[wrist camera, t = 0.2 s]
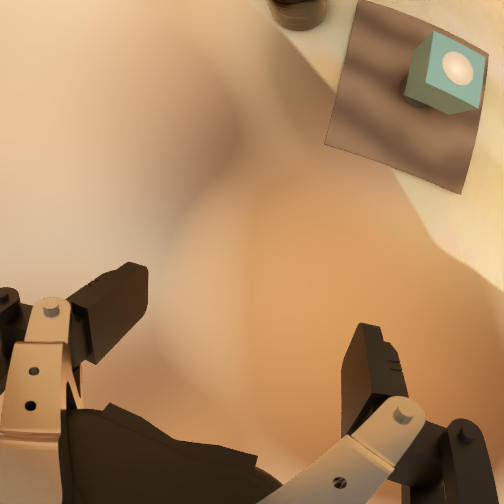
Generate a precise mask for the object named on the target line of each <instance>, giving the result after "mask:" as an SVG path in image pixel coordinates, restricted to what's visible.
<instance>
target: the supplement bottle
mask: <svg viewBox="0 0 504 504" xmlns="http://www.w3.org/2000/svg"><path fill="white" fill-rule="evenodd" d="M266 1H267V3H268V5H269V8H270V10H271V12H272V15H273V17H274V18H275V20H276V21H277V22H278V23H279V24H281V25H282V26H284V27H286V28H289V29H293V30H307V29H310V28H313V27H315V26H317V25H318V24H319V23H320V22H321V21H322V20H323V18H324V16H325V13H326V0H266Z"/></svg>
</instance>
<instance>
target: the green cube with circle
mask: <svg viewBox="0 0 504 504" xmlns="http://www.w3.org/2000/svg"><path fill="white" fill-rule="evenodd" d="M484 67H485V57H484V56H482V55H480V54H479V53H477V52H475V51H473V50H472V49H470V48H468V47H466V46H464V45H462V44H460V43H458V42H456V41H454V40H452V39H450V38H448V37H446V36H444V35H442V34H440V33H438V32H435V31H433V32H432V33H431V34H430V35H429V36H428V37H427V38H426V39H425V40H424V41H423V42H422V43H421V44H420V45H419V46H418V47H417V48H416V49H415V50H414V51H413V53H412V58H411V64H410V69H409V74H408V79H407V84H406V89H405V93H404V95H405V96H407V97H410V98H412V99H415V100H417V101H420V102H422V103H424V104H427V105H429V106H431V107H433V108H436V109H438V110H440V111H442V112H444V113H446V114H449V115H450V114H455V113H459V112H464V111H469V110H474V109H479V103H480V97H481V90H482V83H483V76H484Z"/></svg>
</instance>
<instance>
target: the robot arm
mask: <svg viewBox="0 0 504 504" xmlns="http://www.w3.org/2000/svg"><path fill="white" fill-rule="evenodd" d="M147 304H148V269H147V267H146V266H142V265H139V264H136V263H132V262H127V263H125V264H124V265H123V266H121V267H120V268H118V269H117V270H113V271H110V272H106V273H103V274H102V275H100V276H99V277H97V278H96V279H95V280H94V281H91V282H90V283H88V285H85V286H84V287H83V288H81V289H80V290H78V291H77V292H75V293H74V294H72V295H71V296H70V297H68V298H67V299H62V298H59V297H49V298H44V299H42V300H40V301H38V302H37V303H36V304H35V305H34V306H31V305H27V304H22V303H20V298H19V293H18V291H16V290H15V289H13V288H8V287H3V288H0V395H1V394H2V393H3V392H4V391H5V393H4V400H3V407H2V414H1V423H0V504H365V503H366V502H367V501H368V500H369V499H370V498H371V497H372V496H373V494H374V493H375V492H376V491H377V490H378V489H379V487H380V486H381V485H382V484H383V483H384V482H385V480H386V479H388V480H391V481H394V482H397V483H400V484H401V485H402V504H499V502H498V496H497V491H496V486H495V481H494V476H493V472H492V467H491V464H490V459H489V455H488V451H487V448H486V444H485V440H484V437H483V434H482V432H481V430H480V429H479V427H478V426H477V425H475V424H474V423H473V422H471V421H469V420H467V419H455V420H454V421H452V422H451V423H450V424H449V426H448V427H447V428H445V427H442V426H439V425H436V424H433V423H430V422H428V421H426V420H425V414H424V411H423V410H422V408H421V407H420V406H419V405H418V404H417V403H416V402H415V401H413V400H411V399H409V396H408V392H407V388H406V384H405V380H404V376H403V372H402V368H401V364H400V361H399V357H398V353H397V351H396V350H395V349H394V348H393V346H392V345H391V344H390V343H389V342H384V341H383V336H382V333H381V329H380V327H379V326H374V325H369V324H365V323H359V324H358V326H357V328H356V331H355V333H354V336H353V338H352V340H351V343H350V345H349V347H348V350H347V352H346V354H345V357H344V360H343V364H342V369H341V395H342V419H341V425H342V426H341V440H340V441H338V442H337V443H336V444H335V445H334V446H333V447H332V448H330V449H329V450H328V451H327V452H326V453H325V454H323V455H322V456H321V457H320V458H318V459H317V460H316V461H315V462H313V463H312V464H311V465H310V466H308V467H307V468H306V469H304V470H303V471H302V472H301V473H299V474H298V475H297V476H295V477H294V478H292V479H291V480H290V481H289V482H287V483H286V484H284V485H282V484H281V483H280V482H279V481H278V480H277V479H276V478H274V477H273V476H272V475H270V474H268V473H267V472H265V471H264V470H262V469H260V468H258V467H256V466H255V465H256V461H257V458H258V456H256V455H252V454H248V453H244V452H240V451H237V450H233V449H230V448H226V447H222V446H219V445H211V444H201V443H193V442H186V441H179V440H175V439H173V438H171V437H170V436H168V435H167V434H165V433H164V432H162V431H161V430H159V429H158V428H156V427H155V426H153V425H152V424H151V423H149V422H148V421H146V420H145V419H143V418H142V417H140V416H137V415H135V414H133V413H131V412H129V411H127V410H124V409H122V408H120V407H118V406H116V405H114V404H112V403H109V404H108V405H107V406H106V408H105V409H104V410H103V411H101V410H94V409H84V402H83V385H82V383H83V382H82V366H81V363H82V362H83V361H84V360H87V361H89V362H91V363H93V364H95V365H96V364H98V363H99V361H100V360H101V359H102V358H103V357H104V356H105V355H106V354H107V353H108V352H109V351H110V350H111V349H112V348H113V347H114V346H115V345H116V344H117V343H118V341H120V339H121V338H122V337H123V336H124V335H125V334H126V333H127V332H128V331H129V330H130V329H131V328H132V327H133V326H134V325H135V324H136V323H137V322H138V321H139V320H140V319H141V318H142V317H143V315H144V314H145V311H146V309H147ZM444 486H445V491H444ZM445 496H446V499H445Z"/></svg>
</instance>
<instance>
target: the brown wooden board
mask: <svg viewBox="0 0 504 504" xmlns="http://www.w3.org/2000/svg"><path fill="white" fill-rule="evenodd" d="M433 31H435V32H438V33H440V34H442V35H444V36H446V37H448V38H450V39H452V40H454V41H456V42H458V43H460V44H462V45H464V46H466V47H468V48H470V49H472V50H473V51H475V52H477V53H479V54H480V55H482V56H484V57H485V67H484V76H483V83H482V90H481V97H480V103H479V109H474V110H469V111H464V112H459V113H455V114H450V115H449V114H446V113H444V112H442V111H440V110H438V109H436V108H433V107H431V106H429V105H427V104H424V103H422V102H420V101H417V100H415V99H412V98H410V97H407V96H405V95H404V93H405V89H406V84H407V79H408V74H409V69H410V64H411V58H412V53H413V51H414V50H415V49H416V48H417V47H418V46H419V45H420V44H421V43H422V42H423V41H424V40H425V39H426V38H427V37H428V36H429V35H430V34H431V33H432V32H433ZM488 57H489V54H488V53H486V52H484V51H483V50H481V49H479V48H477V47H476V46H474V45H472V44H470V43H468V42H467V41H465V40H463V39H461V38H459V37H457V36H455V35H453V34H451V33H449V32H447V31H445V30H443V29H440V28H438V27H436V26H434V25H432V24H429V23H427V22H425V21H422V20H420V19H418V18H415V17H413V16H410V15H407V14H405V13H402V12H399V11H397V10H394V9H391V8H388V7H385V6H382V5H379V4H376V3H373V2H370V1H366V0H359V1H358V5H357V10H356V14H355V19H354V24H353V28H352V33H351V37H350V42H349V46H348V50H347V55H346V59H345V63H344V68H343V72H342V76H341V80H340V84H339V88H338V92H337V96H336V100H335V104H334V108H333V112H332V116H331V120H330V124H329V128H328V132H327V135H326V140H325V143H324V144H325V145H328V146H331V147H335V148H338V149H341V150H344V151H348V152H351V153H354V154H357V155H360V156H363V157H366V158H369V159H372V160H375V161H377V162H380V163H383V164H386V165H388V166H391V167H394V168H396V169H399V170H402V171H404V172H407V173H410V174H412V175H415V176H417V177H420V178H422V179H425V180H427V181H429V182H432V183H434V184H437V185H439V186H441V187H443V188H446V189H448V190H450V191H453V192H455V193H457V194H460V195H461V192H462V189H463V186H464V182H465V179H466V175H467V172H468V168H469V164H470V160H471V157H472V152H473V148H474V144H475V140H476V135H477V131H478V126H479V121H480V115H481V110H482V104H483V98H484V91H485V84H486V76H487V67H488Z"/></svg>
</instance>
